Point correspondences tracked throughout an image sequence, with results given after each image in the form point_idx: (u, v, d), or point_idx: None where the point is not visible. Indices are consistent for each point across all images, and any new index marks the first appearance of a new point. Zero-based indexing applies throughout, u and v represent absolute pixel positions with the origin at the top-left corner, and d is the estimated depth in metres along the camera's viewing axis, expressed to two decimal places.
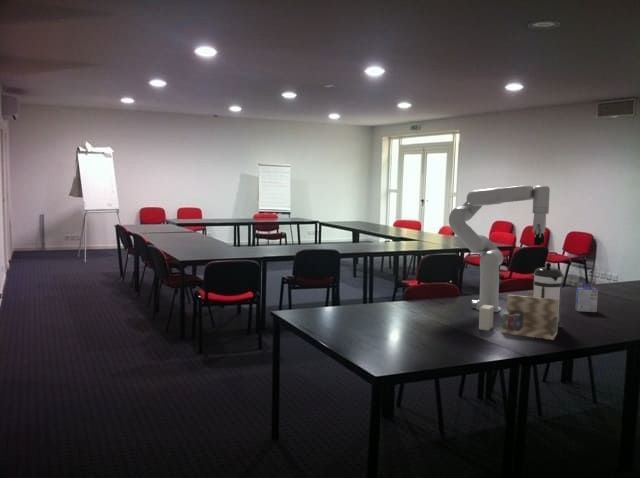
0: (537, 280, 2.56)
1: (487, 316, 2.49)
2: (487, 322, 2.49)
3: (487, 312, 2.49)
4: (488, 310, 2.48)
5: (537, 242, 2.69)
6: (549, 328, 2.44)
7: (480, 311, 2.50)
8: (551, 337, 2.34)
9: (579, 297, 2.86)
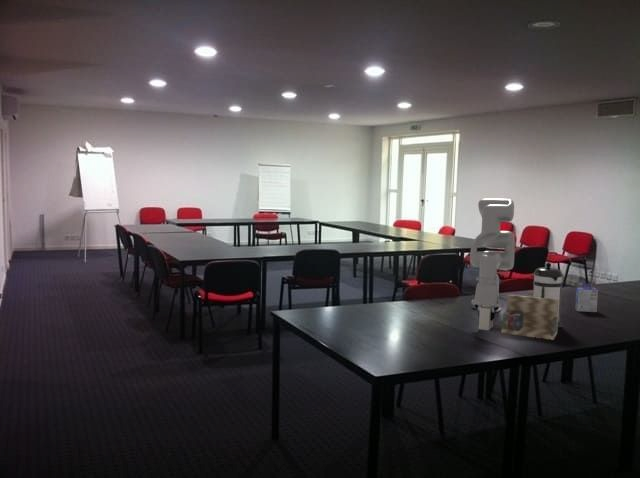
0: (537, 280, 2.56)
1: (487, 316, 2.49)
2: (487, 322, 2.49)
3: (487, 312, 2.49)
4: (488, 310, 2.48)
5: (494, 317, 2.51)
6: (549, 328, 2.44)
7: (480, 311, 2.50)
8: (551, 337, 2.34)
9: (579, 297, 2.86)
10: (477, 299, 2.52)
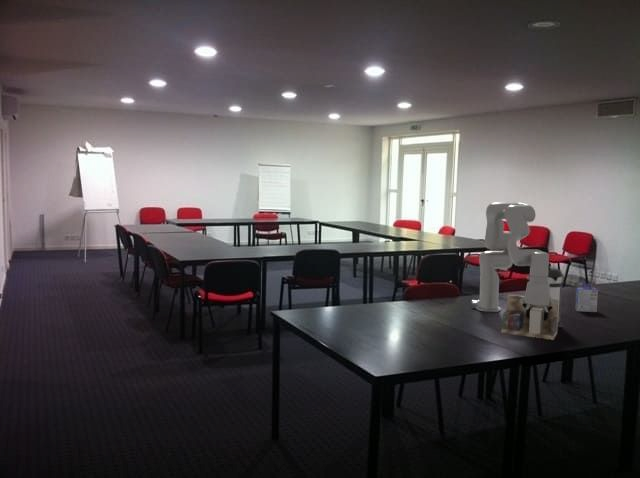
0: None
1: (538, 319, 2.38)
2: (538, 325, 2.38)
3: (538, 315, 2.38)
4: (539, 312, 2.38)
5: (547, 317, 2.40)
6: (549, 328, 2.44)
7: (531, 313, 2.39)
8: (551, 337, 2.34)
9: (579, 297, 2.86)
10: (527, 299, 2.41)
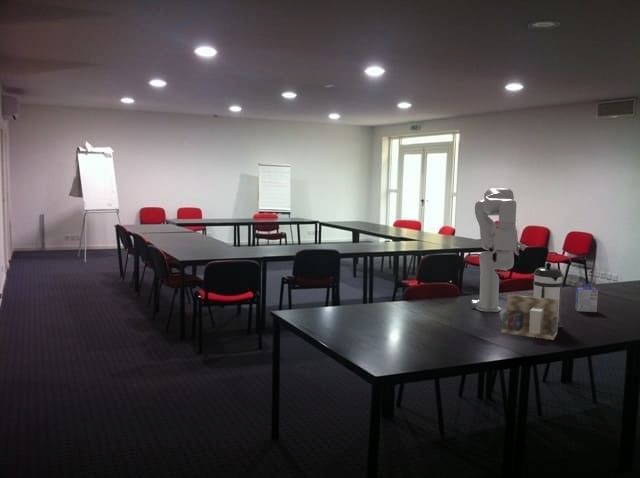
0: (537, 280, 2.56)
1: (538, 319, 2.38)
2: (538, 325, 2.38)
3: (538, 315, 2.38)
4: (539, 312, 2.38)
5: (518, 260, 2.51)
6: (549, 328, 2.44)
7: (531, 313, 2.39)
8: (551, 337, 2.34)
9: (579, 297, 2.86)
10: (496, 244, 2.53)
